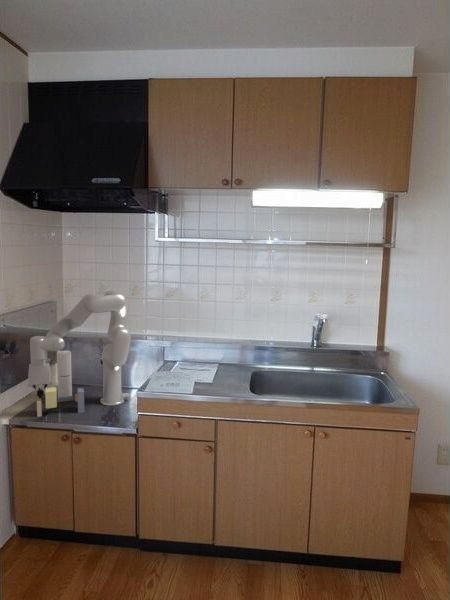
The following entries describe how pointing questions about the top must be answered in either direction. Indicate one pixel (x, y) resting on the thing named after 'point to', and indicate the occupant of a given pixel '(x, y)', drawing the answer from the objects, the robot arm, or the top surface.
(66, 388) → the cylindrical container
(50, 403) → the pale yellow block
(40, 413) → the grey h-shaped piece
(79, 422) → the top surface
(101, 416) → the top surface
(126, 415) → the top surface
